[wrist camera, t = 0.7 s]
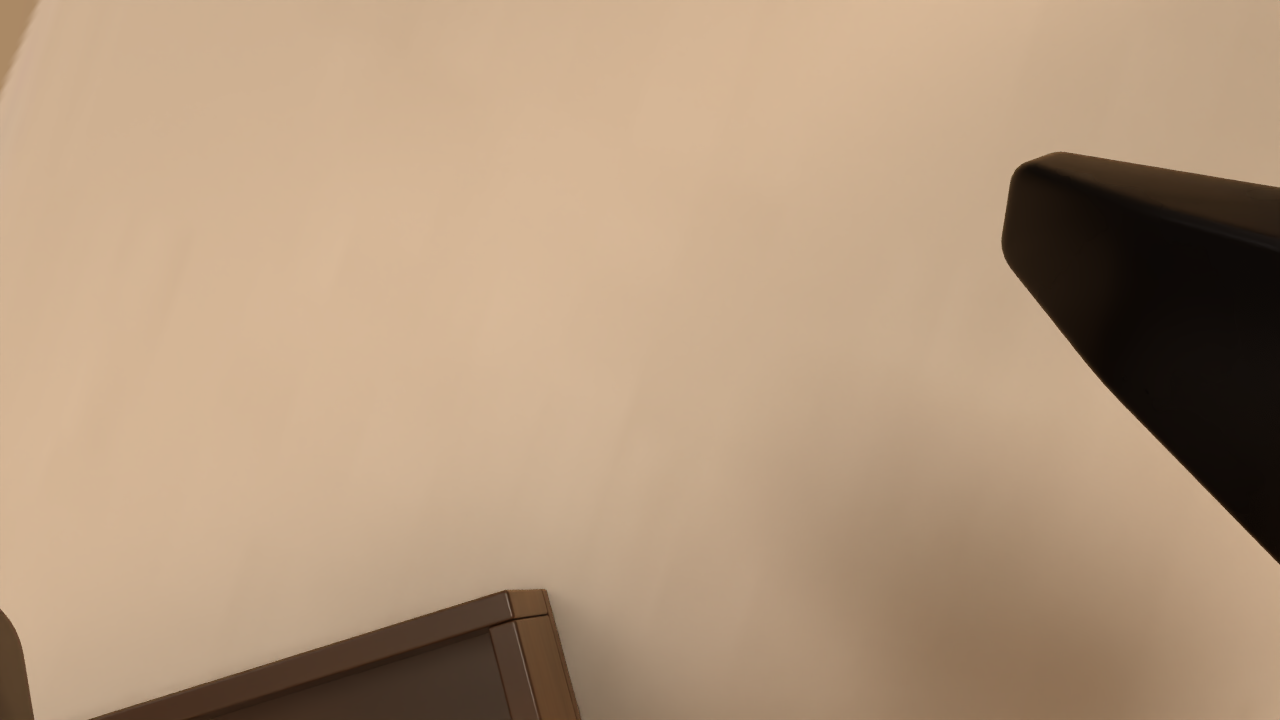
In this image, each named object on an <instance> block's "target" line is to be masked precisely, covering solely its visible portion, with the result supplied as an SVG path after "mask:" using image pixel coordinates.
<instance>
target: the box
mask: <svg viewBox="0 0 1280 720" xmlns="http://www.w3.org/2000/svg"><path fill="white" fill-rule="evenodd" d="M89 720H581V718H580V714H579V710H578V707H577V703H576V699H575V696H574V692H573V688H572V684H571V681H570V677H569V673H568V670H567V666H566V662H565V658H564V655H563V651H562V647H561V644H560V640H559V636H558V632H557V629H556V625H555V621H554V618H553V614H552V610H551V606H550V603H549V599H548V595H547V592H546V590H545V589H533V590H504V591H500V592H497V593H494V594H491V595H488V596H484V597H481V598H478V599H475V600H471V601H468V602H465V603H462V604H459V605H455V606H452V607H449V608H446V609H442V610H439V611H436V612H433V613H430V614H426V615H423V616H420V617H417V618H414V619H410V620H407V621H404V622H401V623H397V624H394V625H391V626H388V627H385V628H381V629H378V630H375V631H372V632H368V633H365V634H362V635H359V636H356V637H352V638H349V639H346V640H343V641H340V642H336V643H333V644H330V645H327V646H323V647H320V648H317V649H314V650H311V651H307V652H304V653H301V654H298V655H294V656H291V657H288V658H285V659H282V660H278V661H275V662H272V663H269V664H266V665H262V666H259V667H256V668H253V669H249V670H246V671H243V672H240V673H237V674H233V675H230V676H227V677H224V678H221V679H217V680H214V681H211V682H208V683H204V684H201V685H198V686H195V687H192V688H188V689H185V690H182V691H179V692H175V693H172V694H169V695H166V696H163V697H159V698H156V699H153V700H150V701H147V702H143V703H140V704H137V705H134V706H130V707H127V708H124V709H121V710H118V711H114V712H111V713H108V714H105V715H101V716H98V717H95V718H92V719H89Z"/></svg>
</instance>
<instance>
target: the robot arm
mask: <svg viewBox="0 0 1280 720" xmlns="http://www.w3.org/2000/svg"><path fill="white" fill-rule="evenodd" d="M1001 243H1002V250H1003V254H1004V257H1005V259H1006V261H1007V263H1008V265H1009V266H1010V268H1011V269H1012V270H1013V272H1014V273H1015V274H1016V276H1017V277H1018V278H1019V279H1020V281H1021V282H1022V283H1023V284H1024V286H1025V287H1026V288H1027V289H1028V291H1029V292H1030V293H1031V294H1032V296H1033V297H1034V298H1035V299H1036V301H1037V302H1038V303H1039V304H1040V306H1041V307H1042V308H1043V309H1044V311H1045V312H1046V313H1047V314H1048V316H1049V317H1050V318H1051V320H1052V321H1053V322H1054V323H1055V325H1056V326H1057V327H1058V328H1059V330H1060V331H1061V332H1062V333H1063V335H1064V336H1065V337H1066V338H1067V340H1068V341H1069V342H1070V343H1071V345H1072V346H1073V347H1074V348H1075V350H1076V351H1077V352H1078V353H1079V355H1080V356H1081V357H1082V359H1083V360H1084V361H1085V362H1086V364H1087V365H1088V366H1089V367H1090V368H1091V369H1092V371H1093V372H1094V373H1095V374H1096V375H1097V377H1098V378H1099V379H1100V380H1101V381H1102V382H1103V384H1104V385H1105V386H1106V387H1107V388H1108V389H1109V390H1110V391H1111V392H1112V393H1113V394H1114V395H1115V396H1116V398H1117V399H1118V400H1119V401H1120V402H1121V403H1122V404H1123V405H1124V406H1125V407H1126V408H1127V409H1128V410H1129V411H1130V412H1131V413H1132V414H1133V415H1134V416H1135V417H1136V418H1137V419H1138V420H1139V421H1140V422H1141V423H1142V424H1143V425H1144V426H1145V427H1146V428H1147V429H1148V430H1149V431H1150V432H1151V433H1152V434H1153V436H1154V437H1155V438H1156V439H1157V440H1158V441H1159V442H1160V443H1161V444H1162V445H1163V446H1164V447H1165V448H1166V449H1167V450H1168V451H1169V452H1170V453H1171V454H1172V455H1173V456H1174V457H1175V458H1176V459H1177V460H1178V461H1179V462H1180V463H1181V464H1182V465H1183V466H1184V467H1185V468H1186V469H1187V470H1188V471H1189V472H1190V473H1191V474H1192V475H1193V476H1194V477H1195V478H1196V479H1197V481H1198V482H1199V483H1200V484H1201V485H1202V486H1203V487H1204V488H1205V489H1206V490H1207V491H1208V492H1209V493H1210V494H1211V495H1212V496H1213V497H1214V498H1215V499H1216V500H1217V501H1218V502H1219V503H1220V504H1221V505H1222V506H1223V507H1224V508H1225V509H1226V510H1227V511H1228V512H1229V513H1230V514H1231V515H1232V516H1233V517H1234V518H1235V519H1236V520H1237V521H1238V522H1239V523H1240V524H1241V526H1242V527H1243V528H1244V529H1245V530H1246V531H1247V532H1248V533H1249V534H1250V535H1251V536H1252V537H1253V538H1254V539H1255V540H1256V541H1257V542H1258V543H1259V544H1260V545H1261V546H1262V547H1263V548H1264V549H1265V550H1266V551H1267V552H1268V553H1269V554H1270V555H1271V556H1272V557H1273V558H1274V559H1275V560H1276V561H1277V562H1278V563H1279V564H1280V188H1279V187H1273V186H1267V185H1261V184H1255V183H1249V182H1242V181H1236V180H1230V179H1224V178H1218V177H1212V176H1206V175H1200V174H1194V173H1188V172H1182V171H1176V170H1170V169H1164V168H1158V167H1152V166H1146V165H1140V164H1134V163H1128V162H1122V161H1116V160H1110V159H1104V158H1098V157H1092V156H1085V155H1079V154H1073V153H1067V152H1054V153H1050V154H1047V155H1044V156H1042V157H1039V158H1036V159H1033V160H1031V161H1028V162H1025V163H1023V164H1021V165H1020V166H1019V167H1018V168H1017V169H1016V170H1015V172H1014V174H1013V175H1012V178H1011V182H1010V187H1009V194H1008V200H1007V207H1006V213H1005V219H1004V226H1003V232H1002V241H1001ZM0 720H34V715H33V709H32V703H31V697H30V691H29V685H28V679H27V673H26V666H25V660H24V654H23V650H22V646H21V642H20V639H19V637H18V634H17V632H16V630H15V628H14V626H13V625H12V623H11V621H10V620H9V619H8V617H7V616H6V615H5V614H4V613H3V611H2V610H1V609H0Z"/></svg>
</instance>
